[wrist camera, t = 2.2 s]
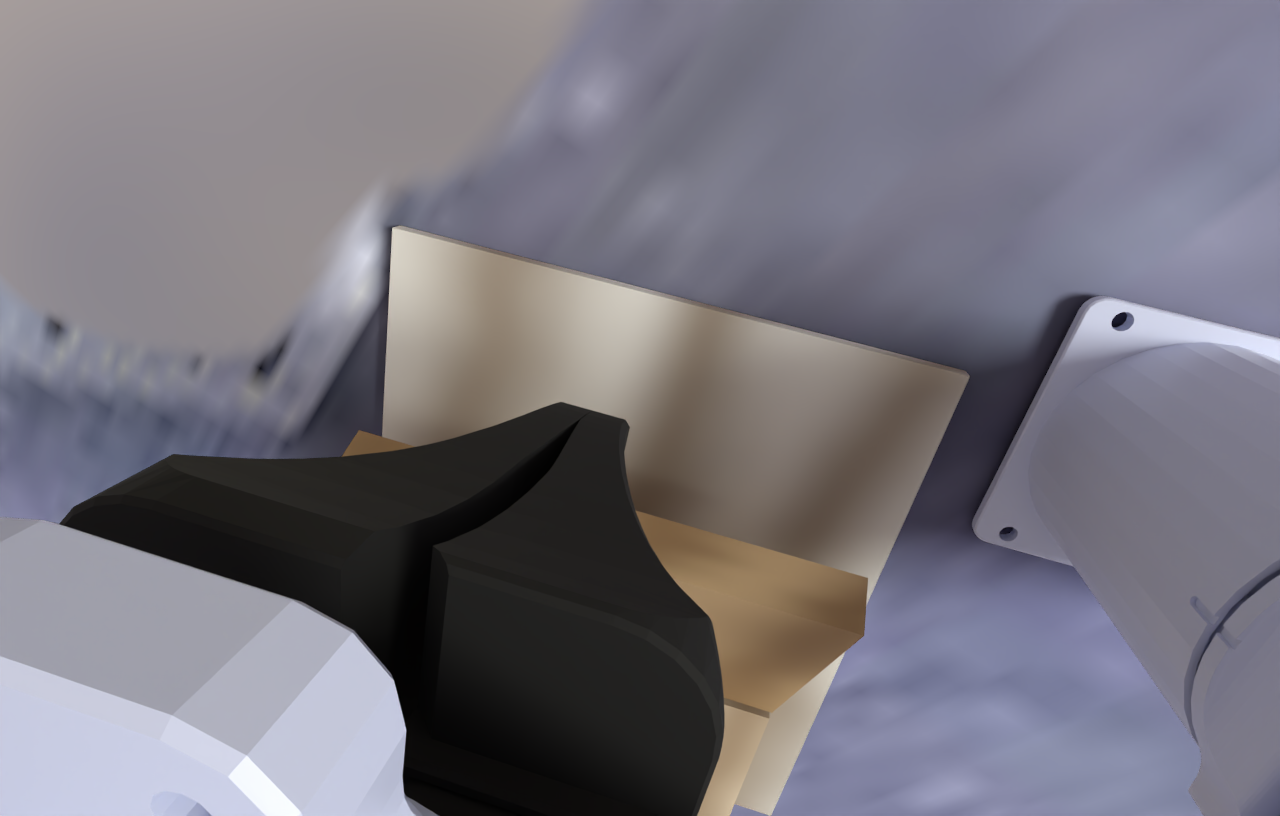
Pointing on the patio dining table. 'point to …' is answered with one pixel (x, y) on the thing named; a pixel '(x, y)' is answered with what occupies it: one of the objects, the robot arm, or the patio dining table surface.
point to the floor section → (679, 425)
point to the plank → (747, 602)
